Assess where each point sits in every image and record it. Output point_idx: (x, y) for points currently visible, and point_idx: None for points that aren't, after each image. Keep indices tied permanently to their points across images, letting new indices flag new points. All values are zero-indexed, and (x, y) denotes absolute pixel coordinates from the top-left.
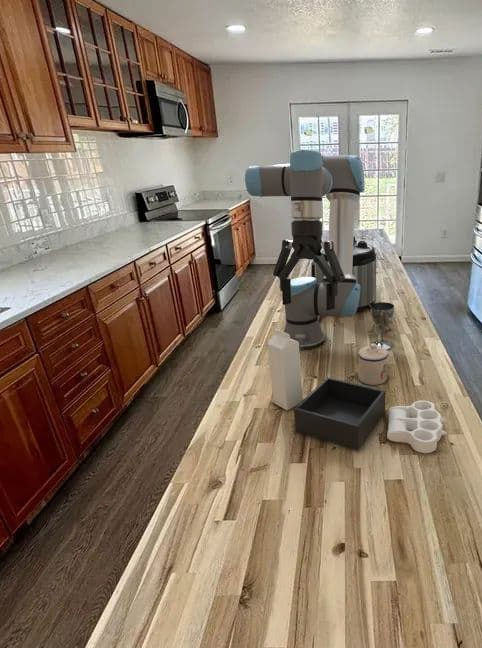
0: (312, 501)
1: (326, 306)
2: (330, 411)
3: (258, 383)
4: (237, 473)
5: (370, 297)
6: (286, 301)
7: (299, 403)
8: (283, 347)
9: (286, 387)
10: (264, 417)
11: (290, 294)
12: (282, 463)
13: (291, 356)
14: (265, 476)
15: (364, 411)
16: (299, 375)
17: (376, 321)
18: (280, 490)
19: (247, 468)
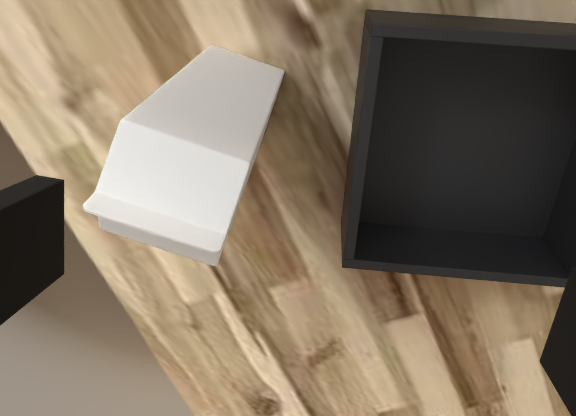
0: (476, 394)
1: (552, 382)
2: (414, 112)
3: (49, 9)
4: (287, 376)
5: None
6: (49, 262)
7: (346, 236)
8: (217, 260)
9: (251, 169)
10: None
11: (6, 214)
12: (366, 329)
13: (243, 188)
14: (350, 368)
15: (540, 69)
16: (270, 111)
17: None
18: (400, 388)
19: (299, 360)
